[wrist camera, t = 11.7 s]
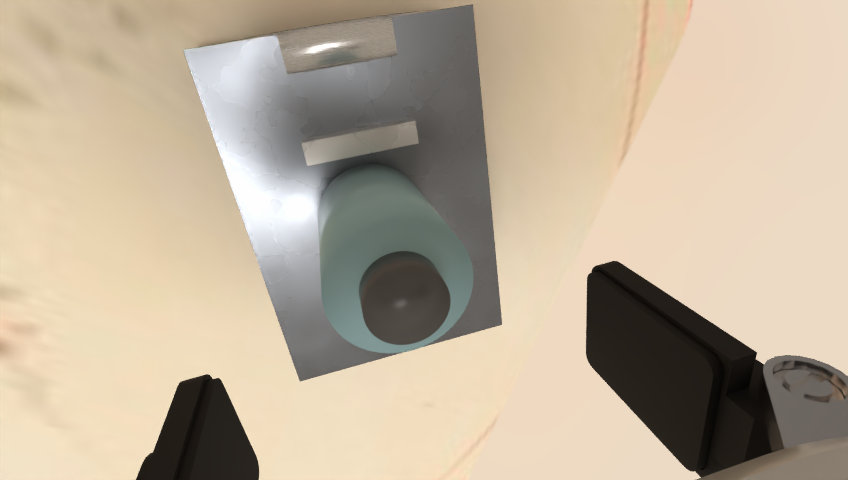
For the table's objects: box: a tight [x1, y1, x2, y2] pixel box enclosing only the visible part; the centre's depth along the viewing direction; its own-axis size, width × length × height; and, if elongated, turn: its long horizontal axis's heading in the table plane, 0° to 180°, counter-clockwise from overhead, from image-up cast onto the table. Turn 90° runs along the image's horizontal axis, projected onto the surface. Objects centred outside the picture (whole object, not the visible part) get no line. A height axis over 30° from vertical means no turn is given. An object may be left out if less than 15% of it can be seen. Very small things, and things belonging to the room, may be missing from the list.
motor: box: [183, 5, 502, 381], centre depth 26 cm, size 18×16×13 cm
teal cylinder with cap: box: [318, 164, 474, 353], centre depth 17 cm, size 5×5×9 cm
